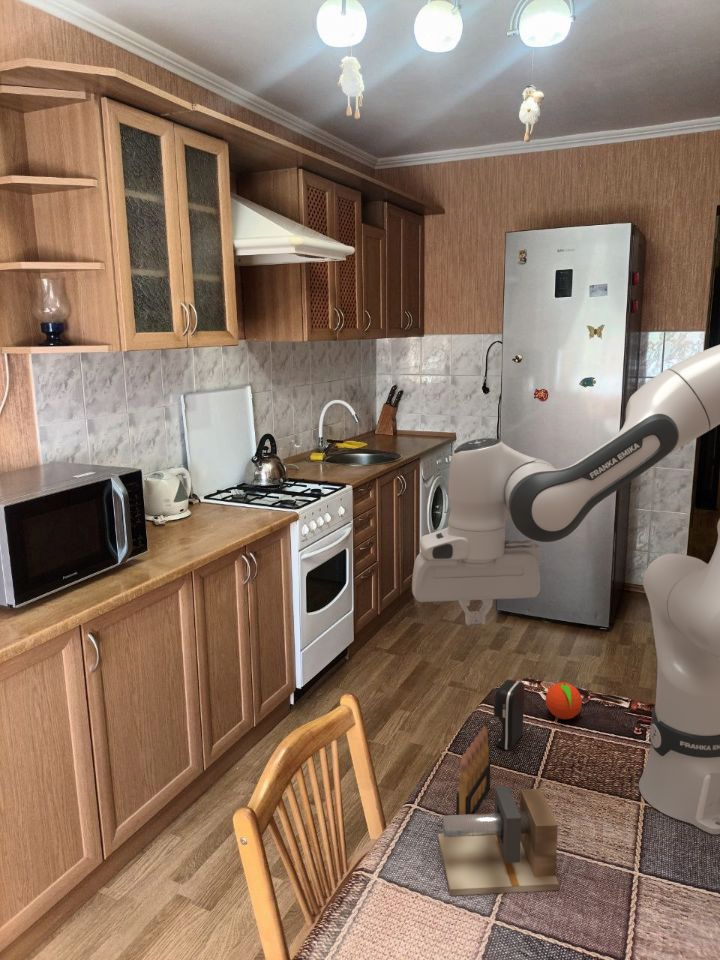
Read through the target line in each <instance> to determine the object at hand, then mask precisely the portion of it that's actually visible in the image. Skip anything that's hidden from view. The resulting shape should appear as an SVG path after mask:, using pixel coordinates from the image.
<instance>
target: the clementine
mask: <svg viewBox="0 0 720 960" xmlns="http://www.w3.org/2000/svg"><path fill="white" fill-rule="evenodd" d="M545 704H546V707H547V710H549V712H550V713H551V714H552V715H553V716H555V717H556V718H557V719H561V720H570V719H572V718H573V719H574V718H575V717H576V716H577V715H578V714H580V711H581V709H582V704H583V699H582V696H581V692H580V691H579V690H578V689H577V688H576V687H575V686H574V685H572V684H571V683H568V682H565V681H564V682H563V681H562V682H557V683H555V684H553V685H552V686H551V687H549V688H548V690H547V692H546V695H545Z"/></svg>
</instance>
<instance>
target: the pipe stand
mask: <svg viewBox="0 0 720 960" xmlns="http://www.w3.org/2000/svg"><path fill="white" fill-rule="evenodd" d="M519 795H520V800H519V812H527V813H528V816H529V820H530V833H529V834H521V842H520V862H517V863H505V860H504V857H503V854H502V851H501V848H500V845H499V842H498V839H497V836H496V835H487V836H466V837H444V833H437V842H438V848H439V851H440V855H441V860H442V864H443V865H442V866H443V869H444V874H445V878H446V883H447V886H448V888H447V889H448V892H449V896H450V897H451V896H468V895H469V896H470V895H472V896H473V895H486V894H487V895H489V894H491V895H492V894H508V893H509V894H510V893H526V892H527V893H528V892H545V891H547V892H548V891H549V892H550V891H559V889H560V883H559V881H558V879H557V876H556V875H557V874H556V872H557V871H556V870H557V850H558V830H559V829H558V828H559V824H558V823H557V820H556V818H555V816H554V814H553V812H552V810H551V807H550V805H549V803H548V801H547V799H546V797H545V794H544V792H543V791H542V788H525V789H524V788H521V789H520V794H519Z"/></svg>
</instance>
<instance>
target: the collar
mask: <svg viewBox="0 0 720 960" xmlns="http://www.w3.org/2000/svg"><path fill="white" fill-rule="evenodd" d="M493 811H494V812H493V813H501V814H502V817H503V820H504V835H496V836H497V839H498V842H499V845H500V848H501V851H502V854H503V857H504V860H505V863H517V862H520V842H521V816H520V813H519V812H520V810H519V808H518V806H517V804H516V801H515V798H514V796H513V794H512V792H511V789H510V786H508V785H504V786H503V785H502V786H501V785H500V786H495V787H494V810H493Z"/></svg>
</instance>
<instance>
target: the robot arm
mask: <svg viewBox="0 0 720 960" xmlns="http://www.w3.org/2000/svg"><path fill="white" fill-rule="evenodd" d="M626 404H627V405H626V408H625V421H624V423H623V424H622V425H623V426H622V427H621V428H620V429H619V432H617V433H616V434H615V435H614V436H613V437H612V438H611V439H609V440H608V441H606V442H604V443H603V444H602V445H600V446H599V447H597V448H596V449H594V450H593V451H591V452H589V453H588V454H587V455H585V456H584V457H582V458H581V459H579V460H578V461H576V462H575V463H573V464H572V465H570V466H569V465H568V466H567V467H566V466H565V467H562V468H556V467H555V466H554V465H552V464H551V463H550V462H548V461H546V460H543V459H541V458H537V457H533V456H529V455H527V454H524V453H521V452H520V451H517V450H515V449H513V448H512V447H510V446H508V445H507V444H505V443H504V442H503V441H502V440H500V439H498V438H493V437H491V438H486V437H485V438H484V437H482V438H478V439H474V440H468V441H466V442H464V443H461V444H459V445H458V446H457V447H456V448H455V450H454V451H453V452H452V456H451V459H450V462H449V471H448V472H449V473H448V501H449V503H450V513H449V517H448V524H447V527H445V528H442V529H439V530H437V531H433V532H431V533H428V534H425V535H422V536H421V537H420V538H419V548H420V552H419V554H418V555H416V557H415V561H414V565H413V571H412V580H411V581H412V582H411V588H412V589H411V590H412V595H413V597H414V599H416V600H417V602H420V603H430V602H431V603H432V602H434V603H435V602H458V603H459V605H460V607H461V609H462V610H463V612H464V614H465V616H464V617H465V621H464V622H465V624H466V626H484V625H486V616H487V615H488V613H489V612H490V610H491V609H492V606H493V600H507V599H508V600H511V599H513V600H514V599H534V598H536V597H537V596H538V595H539V594H540V592H541V577H540V570H539V564H540V563H541V560H542V549H541V547H540V545H539V544H538V543H536V542H541V543H550V542H551V543H552V542H556V541H559V540H562V539H564V538H566V537H568V536H570V534H572V533H573V532H575V530H576V529H577V528H578V527H579V526H580V524H581V523H582V522H583V521H584V520H585V518H586V516H587V515H588V514H589V513H590V512H591V511H592V509H594V507H596V506H597V505H598V504H600V502H602V501H603V500H605V499H607V498H608V497H610V496H611V495H613V494H614V493H615V492H616V491H618V490H619V489H621V488H622V487H624V486H625V485H626V484H629V482H631V481H633V480H634V479H636V478H638V476H640V475H642V474H643V473H645V472H646V471H648V470H649V469H650V468H652V467H653V466H655V465H657V463H659V462H660V461H661V460H662V459H664V458H665V457H667V456H669V455H670V454H672V453H673V452H675V451H676V450H678V449H680V448H682V447H683V446H685V445H686V444H688V443H691V442H692V441H693V440H695V439H697V438H699V437H701V436H703V435H704V434H706V433H708V432H709V431H711V430H713V429H714V428H716V427H717V426H719V425H720V344H718V345H715V346H712V347H710V348H708V349H704V350H703V351H699V352H697V353H695V354H693V355H691V356H689V357H687V358H685V359H683V360H681V361H679V362H678V363H675V364H673V365H672V366H670V367H668V368H667V369H665V370H664V371H662V372H660V373H658V374H656V375H655V376H654V377H652V378H651V379H650V380H648V381H647V382H645V383H644V384H643V385H642V386H640V387H639V388H638V389H637V390H636V391H634V393H633V394H632V395H631V396H630V397H629V399H628V401H627V403H626ZM508 519H509V520H510V519H512V522H513V524H514V527H515V528H516V529H517V531H518V532H519V533H521V535H523V536H525V537H526V538H529V539H523V540H517V539H516V540H515V539H512V540H507V539H506V521H507V520H508ZM716 529H717V535H718V536H717V541H716V545H715V548H714V551H713V554H712V555H711V558H710V560H709V562H708V563H707V562H705V561H703V560H702V559H700V558H698V557H695V556H690V555H687V554H686V555H685V554H682V553H681V554H680V553H677V552H676V553H675V552H674V553H666V554H662V555H661V556H658V557H657V558H655V559H654V560H653V561H652V562H651V563H650V564H649V565H648V567H647V568H646V569H645V572H644V575H643V580H642V581H643V583H642V584H643V589H644V592H645V596H646V598H647V600H648V604H649V609H650V615H651V624H652V630H653V637H654V643H655V644H654V646H655V651H656V661H657V677H656V694H655V705H654V706H653V708H652V711H651V721H650V729H649V730H650V731H649V739H650V741H649V743H650V747H649V752H648V756H647V759H646V764H645V767H644V770H643V773H642V774H641V776H640V779H639V780H638V790H639V793H640V794H641V796H642V797H643V799H644V800H645V801H646V802H647V803H648V804H649V805H651V806H652V807H653V808H654V809H656V810H657V811H659V812H661V813H662V814H664V815H666V816H668V817H671V818H673V819H675V820H678V821H682V822H685V823H688V824H691V825H694V826H695V827H696V828H699V829H700V830H702V831H704V832H706V833H708V834H710V835H720V518H719V519H718V522H717V525H716ZM505 539H506V540H505ZM534 541H536V542H534ZM479 600H480V601H481V602H482V605H481V607H480V608H479V610H478V611H477V610H475V611H474V610H473V611H470V610H469V608H468V607H470V604H471V602H470V601H479Z"/></svg>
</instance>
